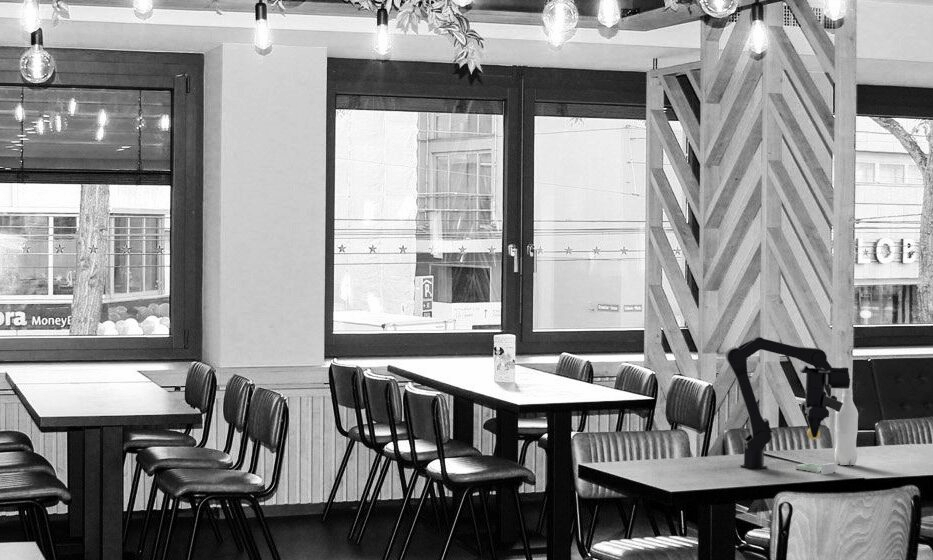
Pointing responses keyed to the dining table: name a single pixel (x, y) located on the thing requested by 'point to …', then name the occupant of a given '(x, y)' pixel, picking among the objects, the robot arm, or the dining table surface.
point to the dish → (809, 467)
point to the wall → (828, 468)
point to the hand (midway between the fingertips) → (813, 436)
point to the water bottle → (846, 431)
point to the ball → (811, 434)
